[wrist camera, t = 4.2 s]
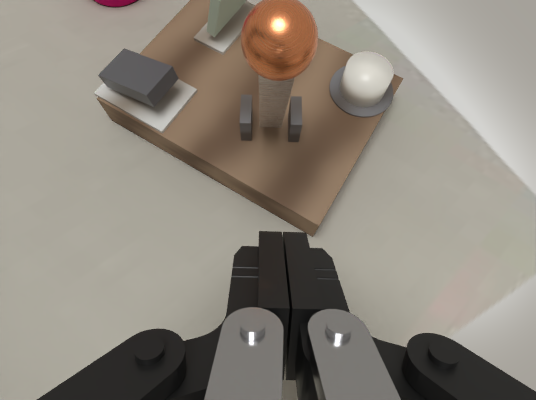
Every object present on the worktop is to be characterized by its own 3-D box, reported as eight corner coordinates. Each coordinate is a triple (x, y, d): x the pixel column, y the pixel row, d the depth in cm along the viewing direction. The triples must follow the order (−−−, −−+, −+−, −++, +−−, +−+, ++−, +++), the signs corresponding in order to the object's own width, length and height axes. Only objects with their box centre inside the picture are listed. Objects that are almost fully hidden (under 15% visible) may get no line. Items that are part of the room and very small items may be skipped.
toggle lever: (290, 137, 25) (323, 64, 12) (249, 136, 25) (237, 61, 12) (291, 97, 26) (325, -22, 12) (251, 95, 25) (239, -25, 12)
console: (109, 118, 30) (79, 76, 25) (207, 11, 35) (198, -43, 30) (313, 237, 27) (326, 216, 22) (391, 101, 32) (416, 58, 27)
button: (331, 94, 28) (337, 75, 26) (351, 64, 29) (358, 44, 27) (372, 114, 27) (381, 97, 25) (390, 83, 28) (401, 64, 26)
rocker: (107, 86, 27) (98, 75, 26) (131, 60, 28) (124, 48, 27) (154, 107, 25) (146, 95, 24) (178, 78, 26) (172, 66, 25)
